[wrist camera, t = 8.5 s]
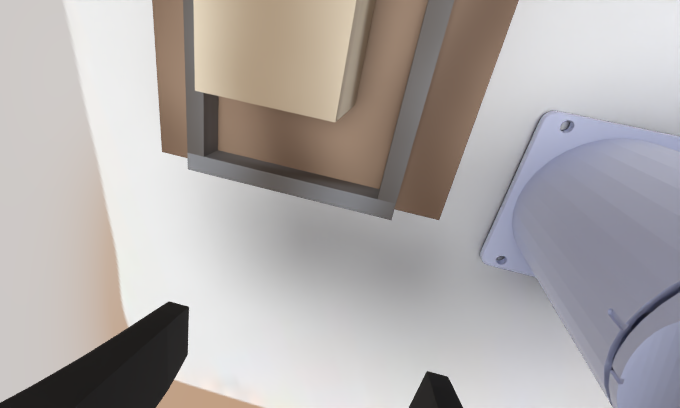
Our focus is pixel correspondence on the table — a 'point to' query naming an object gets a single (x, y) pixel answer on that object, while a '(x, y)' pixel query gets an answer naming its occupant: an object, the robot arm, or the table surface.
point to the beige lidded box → (283, 52)
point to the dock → (355, 125)
